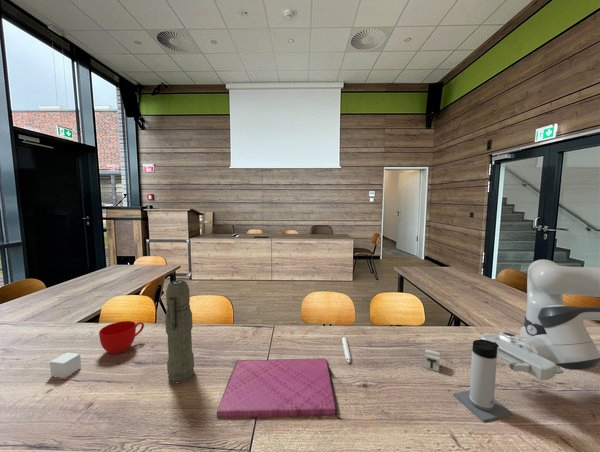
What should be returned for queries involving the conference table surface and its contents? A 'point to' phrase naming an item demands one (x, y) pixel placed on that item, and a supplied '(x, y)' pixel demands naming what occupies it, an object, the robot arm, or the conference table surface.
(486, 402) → the travel mug
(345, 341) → the marker
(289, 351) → the conference table surface
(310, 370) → the laptop bag
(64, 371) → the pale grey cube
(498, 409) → the slate pad
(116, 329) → the ceramic cup
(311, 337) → the conference table surface
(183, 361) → the thermos
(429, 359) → the lettered cube
